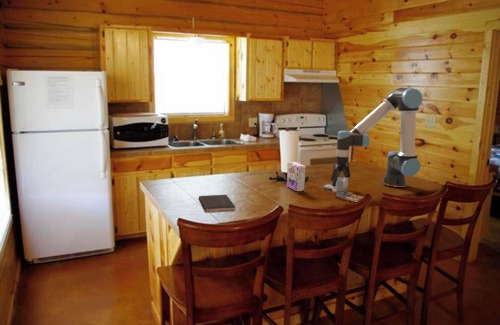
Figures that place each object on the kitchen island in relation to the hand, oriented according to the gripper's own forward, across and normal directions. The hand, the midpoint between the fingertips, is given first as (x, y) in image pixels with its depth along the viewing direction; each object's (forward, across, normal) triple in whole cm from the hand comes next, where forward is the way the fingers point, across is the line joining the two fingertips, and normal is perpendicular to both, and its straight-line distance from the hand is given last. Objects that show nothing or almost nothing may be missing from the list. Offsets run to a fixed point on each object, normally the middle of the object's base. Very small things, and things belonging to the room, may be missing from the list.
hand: (339, 189), depth 250 cm
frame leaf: (+1, +11, +16) cm, 19 cm away
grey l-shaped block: (+1, 0, -4) cm, 4 cm away
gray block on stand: (+1, +11, +9) cm, 14 cm away
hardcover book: (+2, +74, -34) cm, 81 cm away
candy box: (+2, +17, -22) cm, 28 cm away
